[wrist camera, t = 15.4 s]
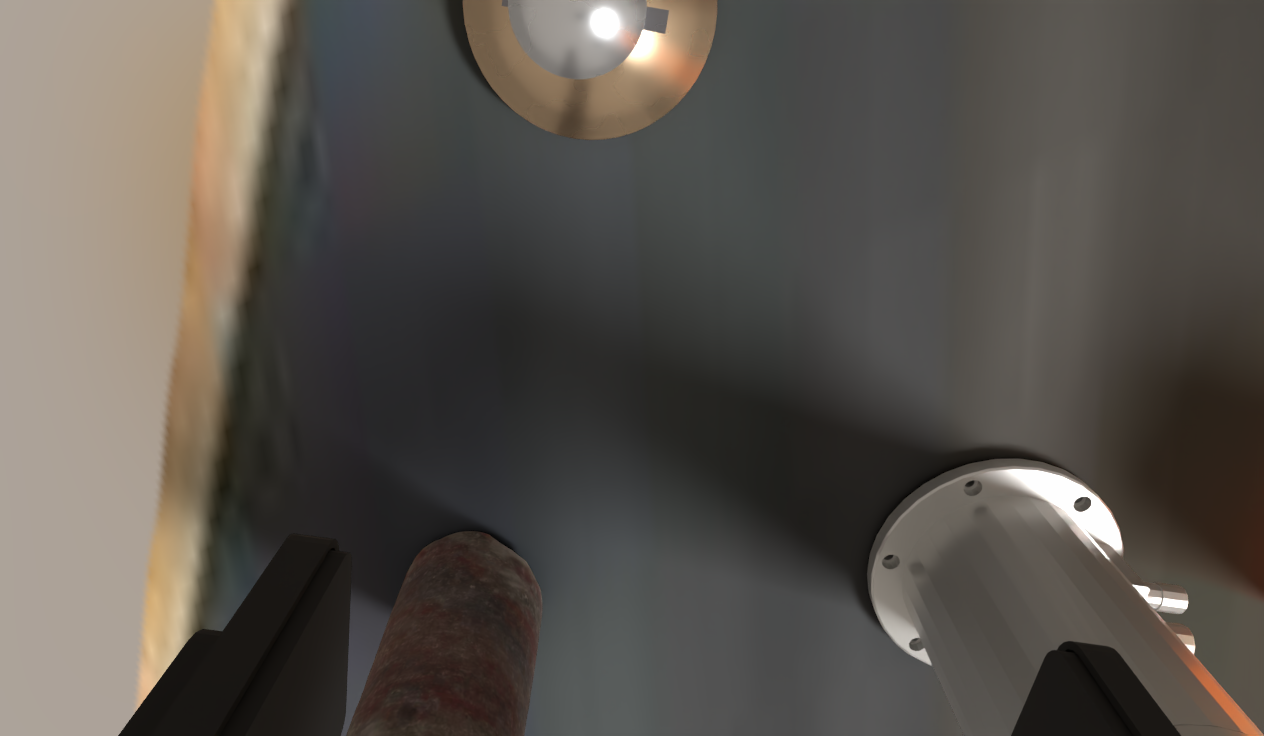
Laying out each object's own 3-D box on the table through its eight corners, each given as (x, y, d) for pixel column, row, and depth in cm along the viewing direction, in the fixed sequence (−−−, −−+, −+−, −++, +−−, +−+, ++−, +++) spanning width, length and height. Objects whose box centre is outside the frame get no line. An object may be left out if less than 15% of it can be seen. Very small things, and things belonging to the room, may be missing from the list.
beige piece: (738, -109, 33) (766, -146, 25) (690, 154, 36) (703, 188, 29) (478, -155, 32) (430, -207, 25) (458, 116, 36) (410, 140, 28)
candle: (578, 587, 45) (533, 984, 26) (490, 667, 47) (392, 1087, 29) (465, 502, 43) (330, 865, 25) (379, 589, 45) (195, 985, 27)
